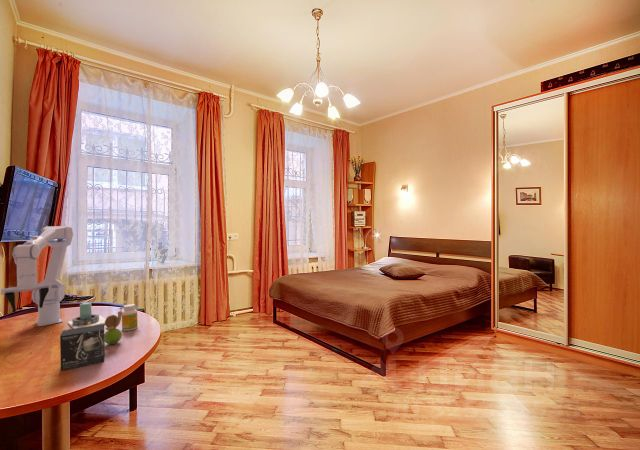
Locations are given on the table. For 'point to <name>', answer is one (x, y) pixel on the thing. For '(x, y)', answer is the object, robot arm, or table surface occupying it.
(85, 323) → the collar plate
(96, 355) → the box
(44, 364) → the table surface
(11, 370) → the table surface
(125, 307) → the supplement bottle
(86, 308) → the teal peg
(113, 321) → the snail figurine
